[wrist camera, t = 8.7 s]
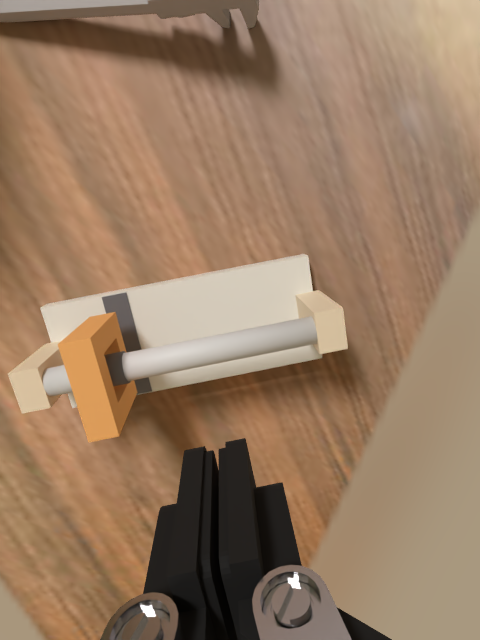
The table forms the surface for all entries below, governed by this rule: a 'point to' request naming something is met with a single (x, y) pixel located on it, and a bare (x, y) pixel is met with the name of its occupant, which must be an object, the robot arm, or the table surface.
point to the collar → (97, 376)
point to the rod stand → (193, 330)
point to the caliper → (126, 9)
